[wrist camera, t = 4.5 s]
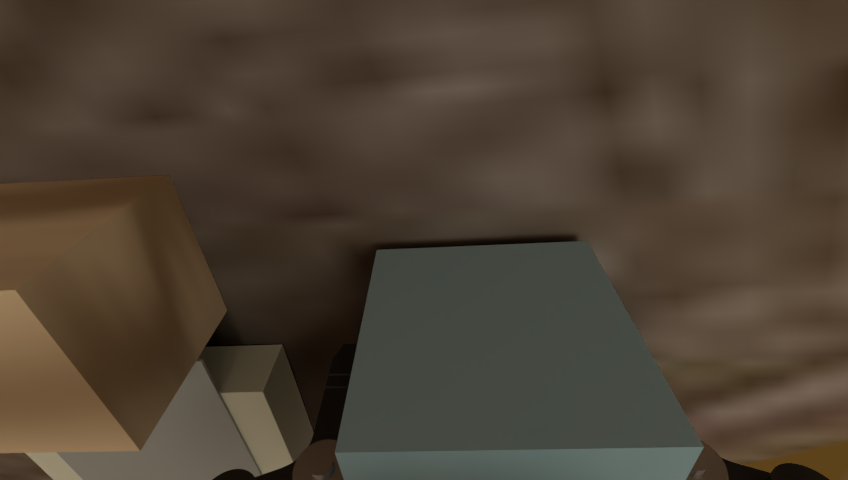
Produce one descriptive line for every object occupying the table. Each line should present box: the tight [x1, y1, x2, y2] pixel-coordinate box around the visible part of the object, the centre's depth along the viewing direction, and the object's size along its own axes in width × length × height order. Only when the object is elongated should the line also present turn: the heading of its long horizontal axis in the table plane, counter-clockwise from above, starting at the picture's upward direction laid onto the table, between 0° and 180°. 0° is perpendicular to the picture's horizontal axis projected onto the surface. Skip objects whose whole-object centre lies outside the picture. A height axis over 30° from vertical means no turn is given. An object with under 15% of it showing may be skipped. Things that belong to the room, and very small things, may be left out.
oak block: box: [0, 175, 227, 453], centre depth 11 cm, size 5×5×5 cm
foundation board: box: [26, 345, 314, 480], centre depth 17 cm, size 13×10×2 cm
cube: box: [335, 241, 704, 480], centre depth 11 cm, size 6×6×6 cm
